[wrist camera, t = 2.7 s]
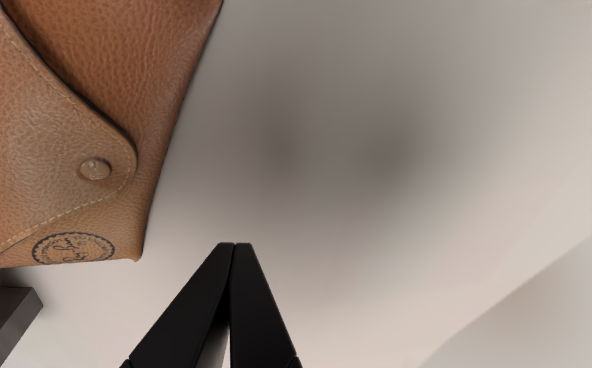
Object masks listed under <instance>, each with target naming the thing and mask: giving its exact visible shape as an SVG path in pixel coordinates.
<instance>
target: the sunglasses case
mask: <svg viewBox="0 0 592 368" xmlns="http://www.w3.org/2000/svg"><path fill="white" fill-rule="evenodd" d="M222 3H223V0H0V268H8V267H9V268H10V267H20V266H34V265H50V264H62V263H77V262H92V261H104V260H115V259H122V258H129V259H132V260H134V262H136V261H138V260H139V259H140V258H141V256H142V252H143V241H144V232H145V228H146V221H147V216H148V213H149V209H150V205H151V202H152V197H153V194H154V190H155V187H156V184H157V180H158V177H159V173H160V170H161V166H162V164H163V160H164V156H165V154H166V152H167V149H168V144H169V141H170V138H171V133H172V130H173V128H174V125H175V123H176V119H177V116H178V114H179V110H180V106H181V103H182V101H183V100H184V94H185V92H186V90H187V87H188V83H189V82H190V78H191V76H192V73H193V71H194V68H195V65H196V63H197V62H198V59H199V56H200V54H201V51H202V49H203V47H204V44H205V41H206V39H207V37H208V34H209V32H210V30H211V28H212V26H213V23H214V21H215V19H216V17H217V15H218V13H219V11H220V9H221V6H222Z"/></svg>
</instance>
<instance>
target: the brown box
mask: <svg viewBox="0 0 592 368" xmlns="http://www.w3.org/2000/svg"><path fill="white" fill-rule="evenodd" d="M42 307H43V305H42V303H41V301H40V300H39V298H38V296H37V294H36V293H35V291H34V289H33V288H0V367H1V366H2V364H3V363H4V361H5V360H6V358H7V357H8V356H9V354H10V353H11V351H12V350H13V348H14V347H15V346H16V344H17V343H18V341H19V340H20V338H21V337H22V336H23V334H24V333H25V331H26V330H27V329H28V327H29V326H30V324H31V323H32V321H33V320H34V319H35V317H36V316H37V314H38V313H39V311H40V310H41V309H42Z"/></svg>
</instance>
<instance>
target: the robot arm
mask: <svg viewBox="0 0 592 368" xmlns="http://www.w3.org/2000/svg"><path fill="white" fill-rule="evenodd" d="M229 329H230V368H303V367H302V365H301V362H300V360H299V357H297V356H296V355H297V353H296V351H295V348H294V346H293V343H292V341H291V338H290V336H289V334H288V331H287V329H286V326H285V324H284V322H283V319H282V317H281V314H280V312H279V309H278V307H277V305H276V302H275V300H274V297H273V295H272V293H271V290H270V288H269V285H268V283H267V281H266V278H265V276H264V273H263V271H262V268H261V266H260V264H259V261H258V259H257V256H256V254H255V252H254V249H253V247H252V245H251V244H250V243H236V244H234V243H232V242H220V243H218V244H217V246H216V247H215V248H214V249H213V251H212V252H211V253H210V254H209V256H208V257H207V258H206V259H205V261H204V262H203V263H202V264H201V266H200V267H199V268H198V269H197V271H196V272H195V273H194V275H193V276H192V277H191V278H190V280H189V281H188V282H187V283H186V285H185V286H184V287H183V288H182V290H181V291H180V292H179V293H178V295H177V296H176V297H175V298H174V300H173V301H172V302H171V303H170V305H169V306H168V307H167V308H166V310H165V311H164V312H163V314H162V315H161V316H160V317H159V319H158V320H157V321H156V322H155V324H154V325H153V326H152V327H151V329H150V330H149V331H148V332H147V334H146V335H145V336H144V337H143V339H142V340H141V341H140V342H139V344H138V345H137V346H136V348H135V349H134V350H133V351H132V353H131V354H130V355H129V359H126V360H125V361H124V362H123V364H122V365H121V366H120V367H119V368H222V363H223V359H224V354H225V349H226V345H227V340H228V335H229Z"/></svg>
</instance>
